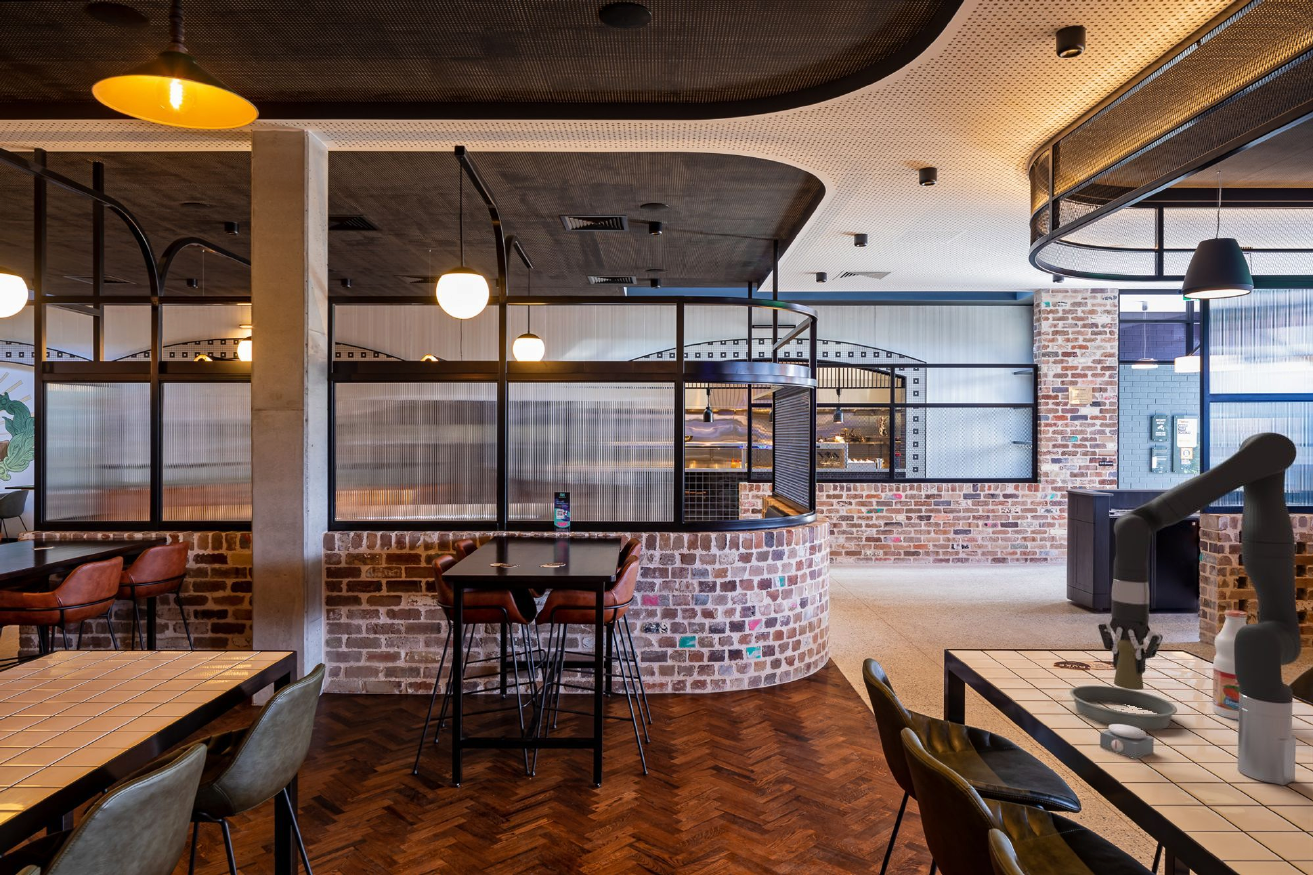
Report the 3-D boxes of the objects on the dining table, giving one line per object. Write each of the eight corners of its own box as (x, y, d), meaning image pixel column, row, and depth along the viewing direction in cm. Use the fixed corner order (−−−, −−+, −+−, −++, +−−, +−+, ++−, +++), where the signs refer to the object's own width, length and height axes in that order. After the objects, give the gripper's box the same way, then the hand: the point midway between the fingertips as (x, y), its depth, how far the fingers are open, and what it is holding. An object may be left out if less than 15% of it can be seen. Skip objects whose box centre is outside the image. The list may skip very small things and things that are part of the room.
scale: (1153, 752, 179) (1153, 732, 179) (1134, 759, 175) (1135, 739, 175) (1117, 740, 186) (1118, 721, 186) (1099, 747, 182) (1099, 727, 182)
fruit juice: (1237, 709, 212) (1239, 608, 212) (1265, 721, 202) (1267, 616, 203) (1203, 708, 212) (1206, 607, 212) (1229, 721, 202) (1231, 615, 203)
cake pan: (1176, 713, 208) (1177, 696, 208) (1176, 740, 188) (1177, 722, 188) (1074, 694, 222) (1074, 678, 222) (1064, 718, 202) (1064, 701, 202)
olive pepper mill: (1116, 679, 185) (1116, 634, 185) (1145, 685, 181) (1146, 638, 181) (1111, 685, 180) (1112, 638, 180) (1141, 691, 176) (1142, 643, 177)
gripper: (1171, 603, 177) (1169, 678, 177) (1107, 592, 189) (1106, 662, 189) (1154, 606, 173) (1153, 682, 173) (1091, 595, 185) (1089, 666, 185)
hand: (1128, 671), depth 181 cm, fingers closed on olive pepper mill, 4 cm apart
